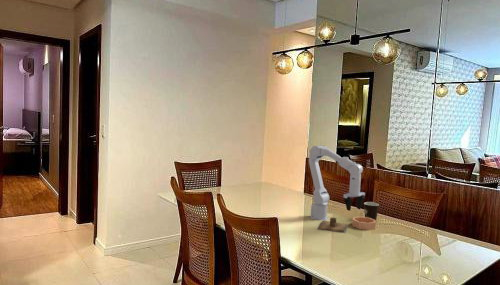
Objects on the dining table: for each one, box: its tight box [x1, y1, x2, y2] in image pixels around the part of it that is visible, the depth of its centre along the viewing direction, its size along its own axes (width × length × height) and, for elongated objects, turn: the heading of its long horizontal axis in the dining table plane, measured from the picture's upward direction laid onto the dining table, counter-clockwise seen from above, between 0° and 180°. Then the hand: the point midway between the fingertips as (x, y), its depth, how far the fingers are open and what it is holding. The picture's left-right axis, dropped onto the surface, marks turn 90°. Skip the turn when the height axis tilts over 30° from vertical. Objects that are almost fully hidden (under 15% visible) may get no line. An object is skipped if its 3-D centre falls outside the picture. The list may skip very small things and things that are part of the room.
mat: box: [316, 221, 349, 234], centre depth 197 cm, size 15×15×1 cm
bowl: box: [352, 216, 377, 231], centre depth 201 cm, size 12×12×4 cm
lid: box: [318, 217, 347, 233], centre depth 197 cm, size 13×13×5 cm
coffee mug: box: [362, 201, 380, 221], centre depth 215 cm, size 12×9×10 cm
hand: (353, 209), depth 200 cm, fingers open, 7 cm apart
